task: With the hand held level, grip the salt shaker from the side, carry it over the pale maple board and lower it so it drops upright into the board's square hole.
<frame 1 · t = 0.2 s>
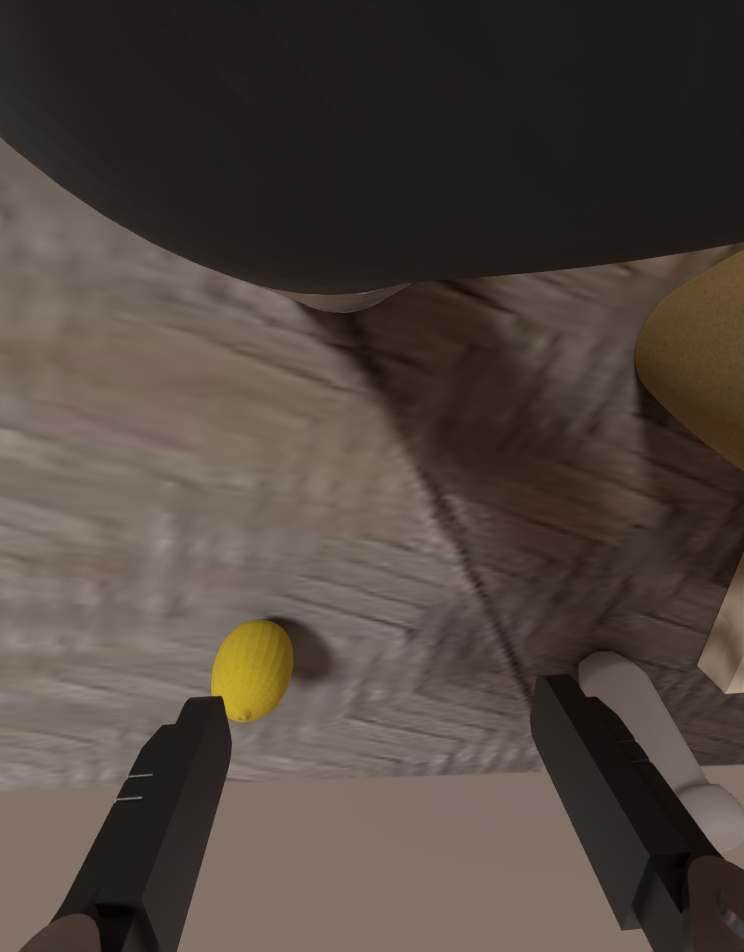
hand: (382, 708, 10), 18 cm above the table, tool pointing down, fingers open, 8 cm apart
lemon: (265, 622, 31), on the table
plant pot: (684, 339, 24), on the table
salt shaker: (597, 664, 36), on the table
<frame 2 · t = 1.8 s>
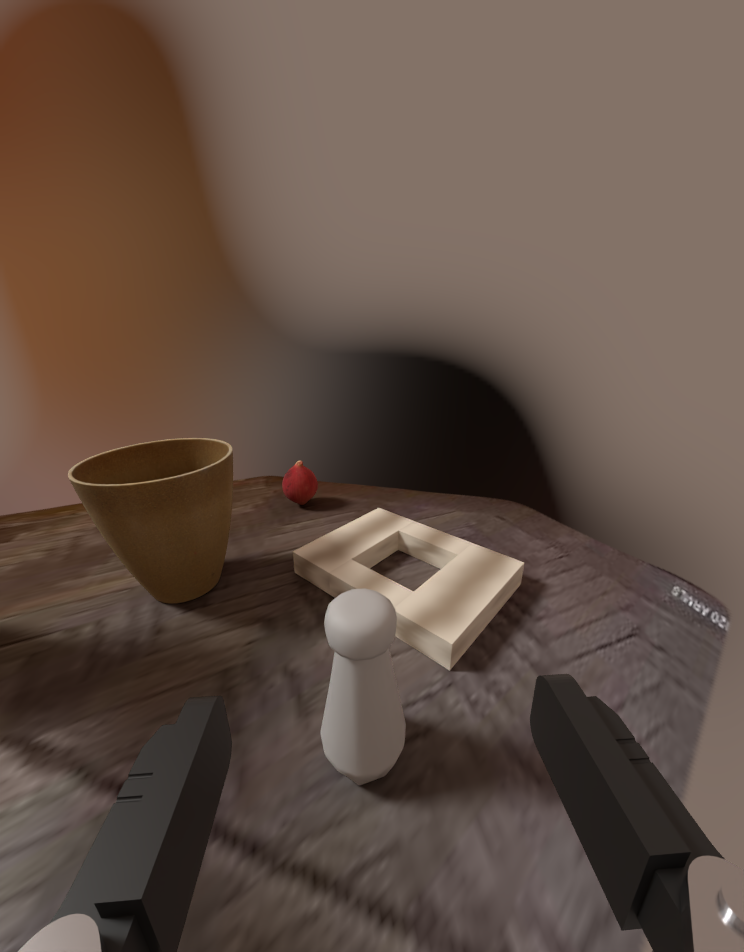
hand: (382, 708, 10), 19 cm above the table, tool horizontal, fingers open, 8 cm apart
hole board: (404, 578, 45), on the table
plant pot: (185, 585, 45), on the table
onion: (301, 505, 65), on the table
salt shaker: (363, 754, 27), on the table
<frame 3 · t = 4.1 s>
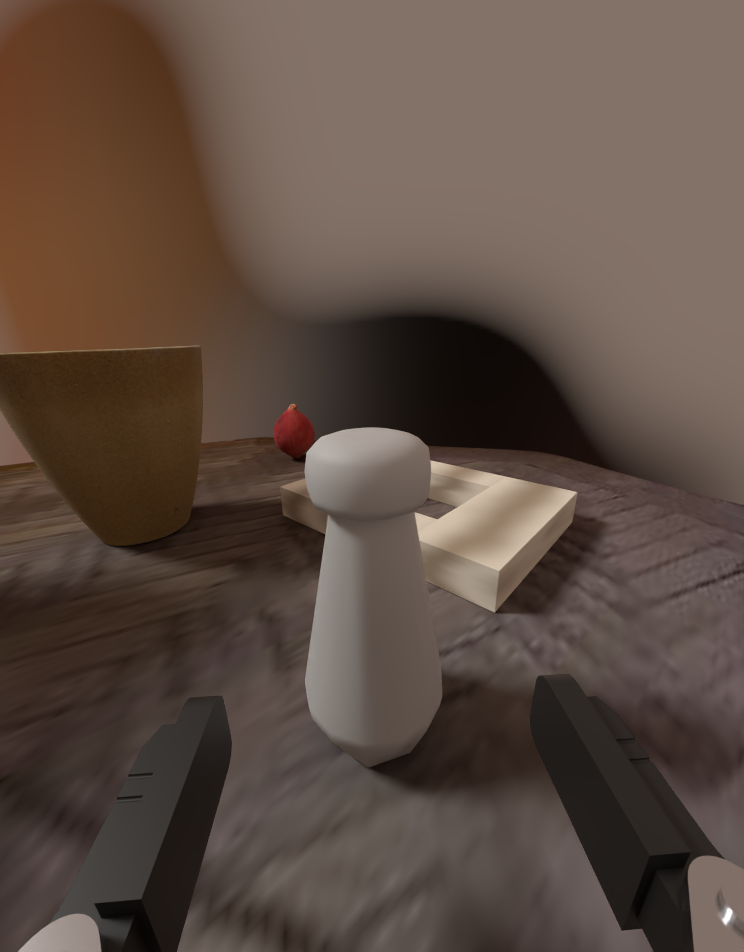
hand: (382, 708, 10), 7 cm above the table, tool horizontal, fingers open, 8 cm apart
hole board: (421, 518, 36), on the table
plant pot: (144, 529, 35), on the table
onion: (296, 459, 56), on the table
salt shaker: (375, 721, 17), on the table
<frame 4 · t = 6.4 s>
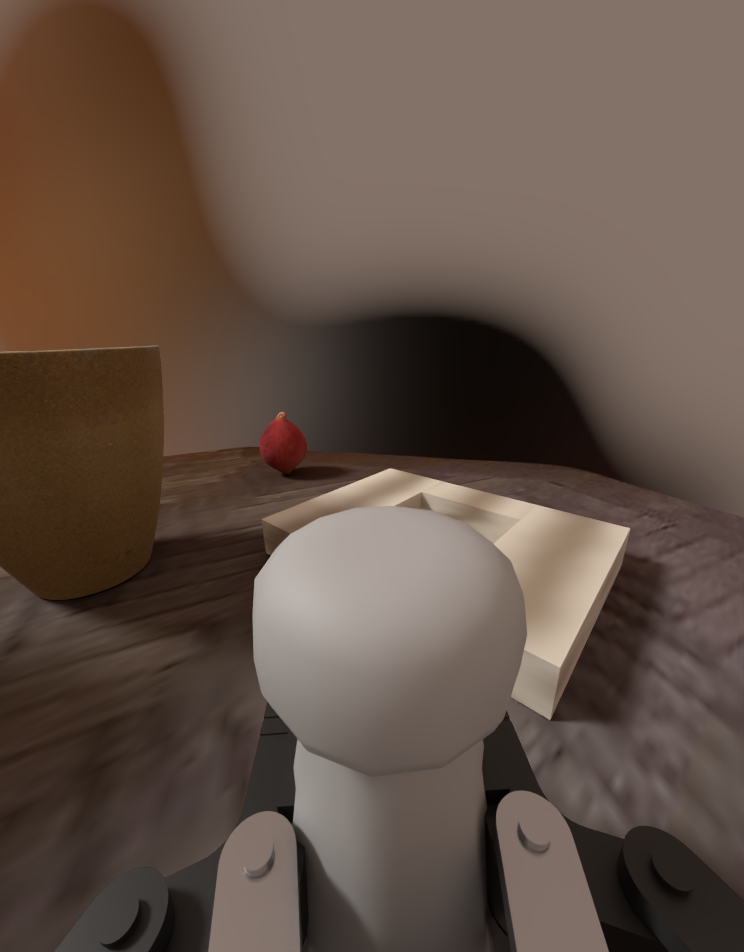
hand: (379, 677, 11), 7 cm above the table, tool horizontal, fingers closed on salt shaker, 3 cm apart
hole board: (435, 558, 29), on the table
plant pot: (92, 573, 29), on the table
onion: (286, 475, 49), on the table
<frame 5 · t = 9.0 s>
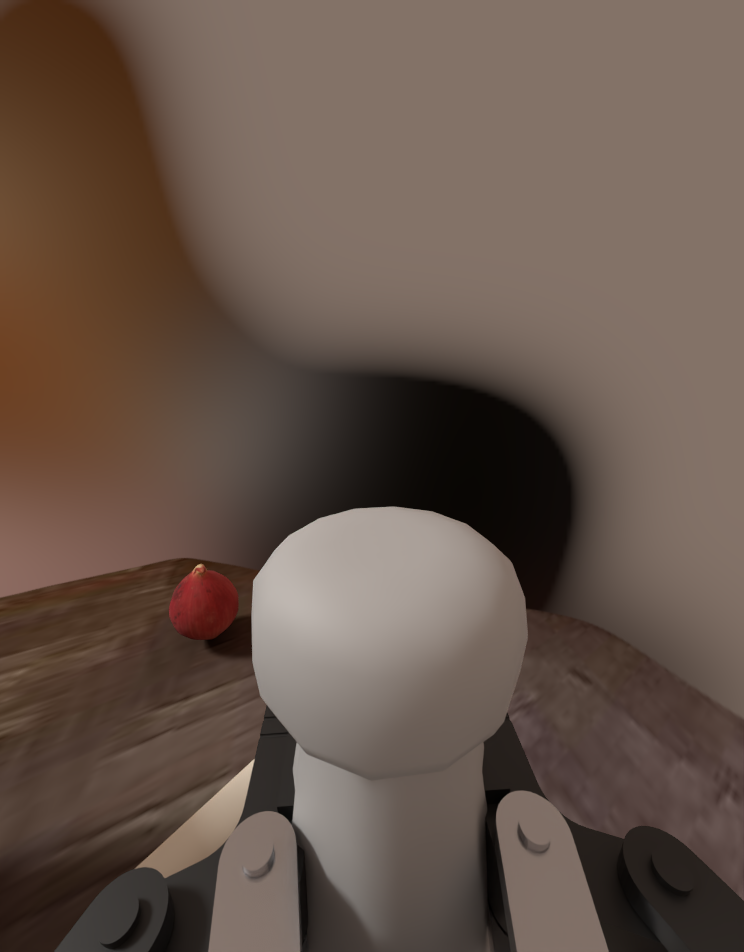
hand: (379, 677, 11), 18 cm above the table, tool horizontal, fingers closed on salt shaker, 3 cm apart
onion: (212, 638, 36), on the table
when the fingers open (9 cm above the table, at t = 11.7 s): salt shaker drops 2 cm, resting in hole board.
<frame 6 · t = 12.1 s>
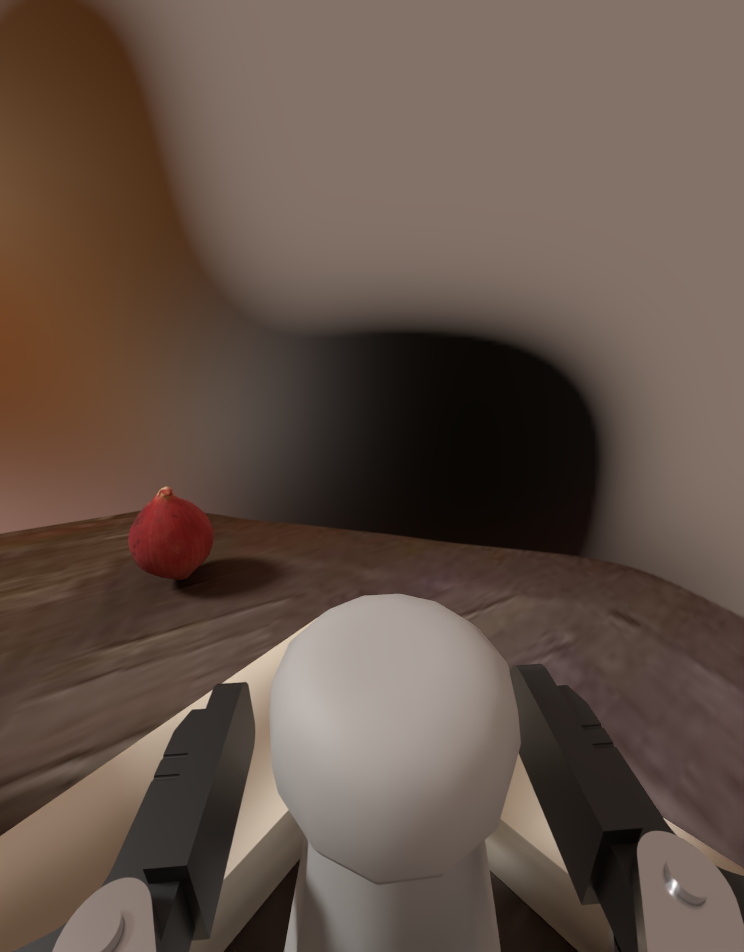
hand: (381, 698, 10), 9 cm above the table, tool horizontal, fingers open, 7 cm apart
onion: (182, 580, 31), on the table
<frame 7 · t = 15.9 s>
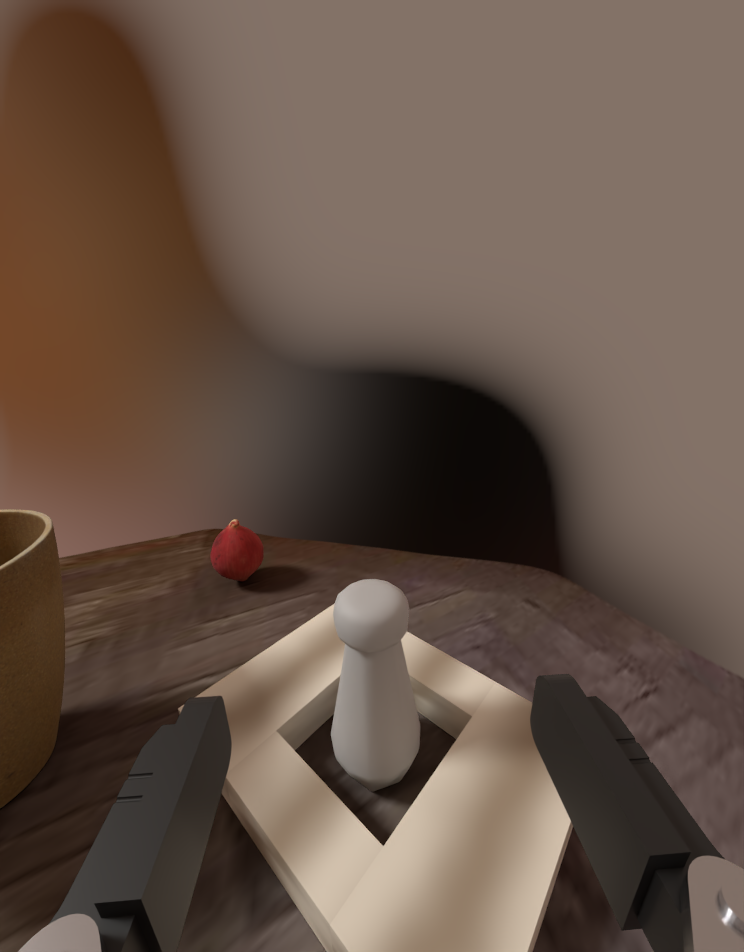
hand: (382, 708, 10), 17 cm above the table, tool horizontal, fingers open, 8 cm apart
hole board: (376, 756, 25), on the table
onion: (242, 581, 45), on the table
salt shaker: (376, 759, 25), resting in hole board
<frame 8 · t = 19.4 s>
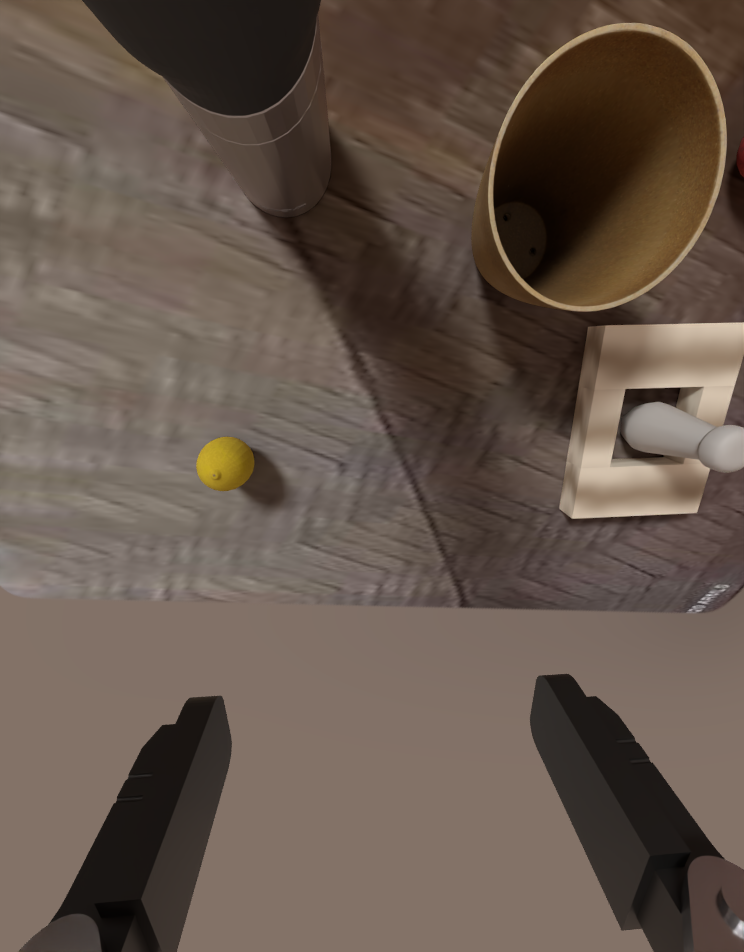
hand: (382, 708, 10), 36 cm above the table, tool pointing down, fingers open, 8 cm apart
hole board: (636, 422, 46), on the table
lemon: (237, 452, 44), on the table
plant pot: (505, 244, 39), on the table
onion: (739, 161, 37), on the table
salt shaker: (635, 422, 46), resting in hole board
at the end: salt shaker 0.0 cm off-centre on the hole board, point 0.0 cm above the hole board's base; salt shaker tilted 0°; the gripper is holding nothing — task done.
